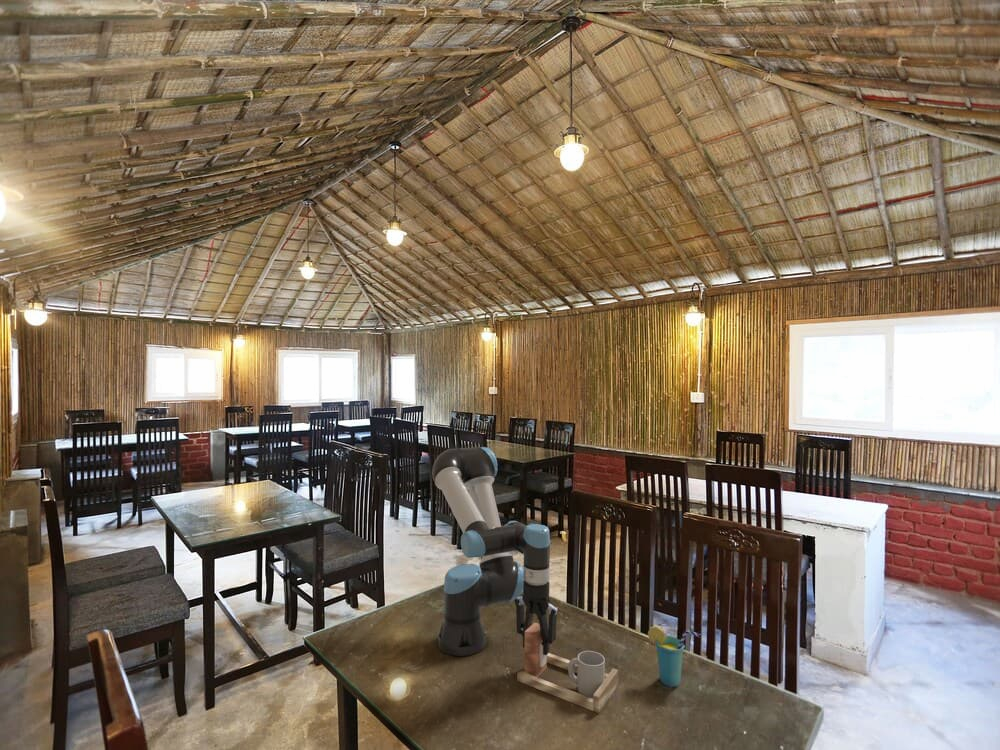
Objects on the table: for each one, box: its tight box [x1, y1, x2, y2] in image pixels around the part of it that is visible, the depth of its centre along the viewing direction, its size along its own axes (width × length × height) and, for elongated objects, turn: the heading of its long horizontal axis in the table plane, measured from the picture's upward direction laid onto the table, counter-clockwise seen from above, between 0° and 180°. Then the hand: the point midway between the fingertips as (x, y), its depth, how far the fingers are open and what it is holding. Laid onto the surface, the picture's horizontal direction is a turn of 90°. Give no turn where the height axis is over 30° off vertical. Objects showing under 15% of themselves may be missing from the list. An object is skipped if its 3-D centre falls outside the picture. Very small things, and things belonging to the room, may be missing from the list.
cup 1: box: [567, 650, 606, 699], centre depth 132 cm, size 7×10×9 cm
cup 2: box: [647, 626, 701, 688], centre depth 136 cm, size 14×8×15 cm, turn 70°
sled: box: [516, 622, 619, 714], centre depth 135 cm, size 24×14×12 cm, turn 57°
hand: (535, 661), depth 141 cm, fingers closed on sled, 4 cm apart
